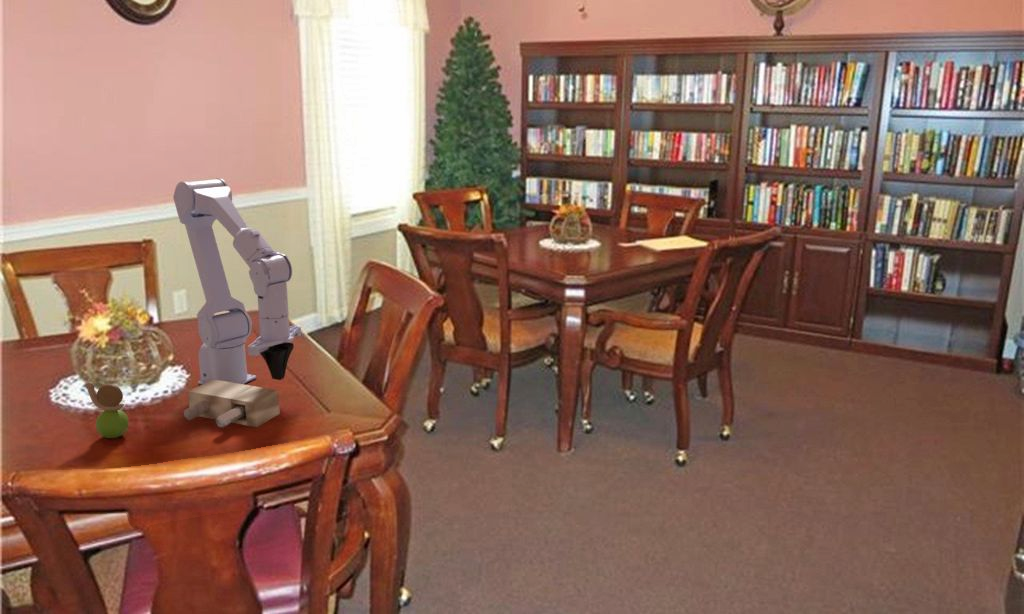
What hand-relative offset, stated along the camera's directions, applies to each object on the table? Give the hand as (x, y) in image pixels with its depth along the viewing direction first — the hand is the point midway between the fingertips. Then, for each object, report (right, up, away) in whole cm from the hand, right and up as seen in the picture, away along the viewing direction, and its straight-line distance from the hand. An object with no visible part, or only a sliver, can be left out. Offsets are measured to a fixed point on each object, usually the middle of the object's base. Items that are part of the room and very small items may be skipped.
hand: (278, 378), depth 160 cm
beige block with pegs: (-8, -7, -7) cm, 13 cm away
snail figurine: (-26, -10, -16) cm, 32 cm away
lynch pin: (-4, -7, -9) cm, 12 cm away
